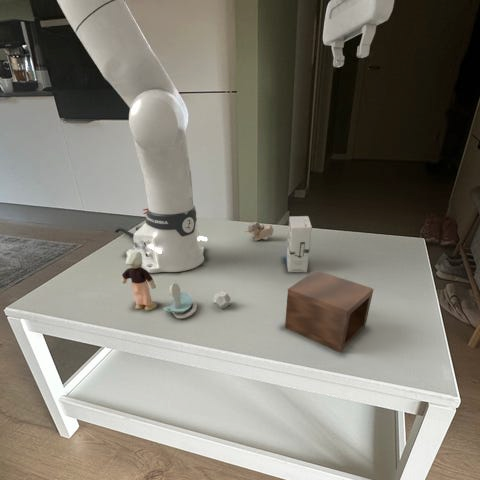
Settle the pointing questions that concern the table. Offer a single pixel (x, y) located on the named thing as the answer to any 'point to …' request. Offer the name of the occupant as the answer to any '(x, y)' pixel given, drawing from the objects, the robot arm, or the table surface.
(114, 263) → the table surface
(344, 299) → the shelf
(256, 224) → the toy character
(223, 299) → the game die
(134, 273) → the grandmother figurine
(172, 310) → the pacifier
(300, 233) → the ink box
